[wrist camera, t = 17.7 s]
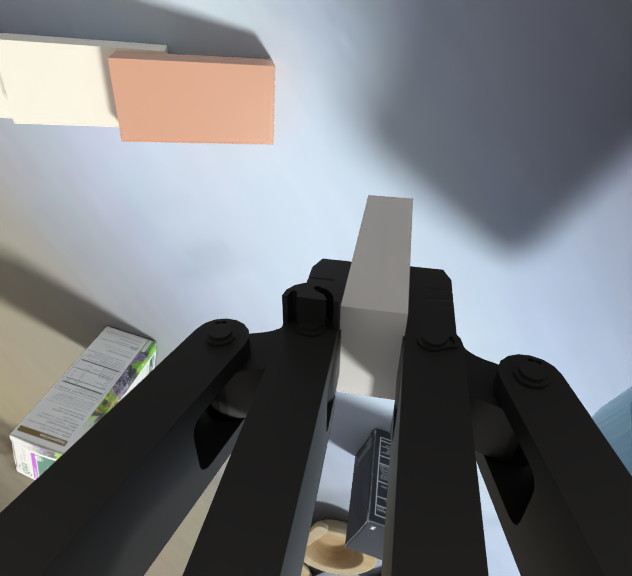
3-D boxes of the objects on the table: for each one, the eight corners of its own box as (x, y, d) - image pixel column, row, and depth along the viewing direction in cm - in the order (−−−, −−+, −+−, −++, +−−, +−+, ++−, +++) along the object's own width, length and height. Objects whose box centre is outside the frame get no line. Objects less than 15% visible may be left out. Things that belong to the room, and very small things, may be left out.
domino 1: (164, 51, 30) (-9, 39, 28) (171, 128, 33) (14, 123, 31) (166, 45, 32) (4, 33, 30) (172, 119, 35) (24, 113, 33)
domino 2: (275, 66, 29) (107, 57, 28) (273, 144, 32) (121, 141, 30) (271, 59, 31) (114, 50, 29) (270, 133, 34) (127, 130, 32)
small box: (352, 458, 54) (340, 549, 45) (374, 426, 50) (366, 519, 42) (435, 489, 54) (439, 585, 46) (463, 459, 51) (473, 558, 42)
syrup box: (154, 376, 52) (78, 495, 40) (104, 360, 52) (13, 474, 40) (158, 341, 49) (75, 459, 37) (104, 323, 48) (4, 436, 37)
